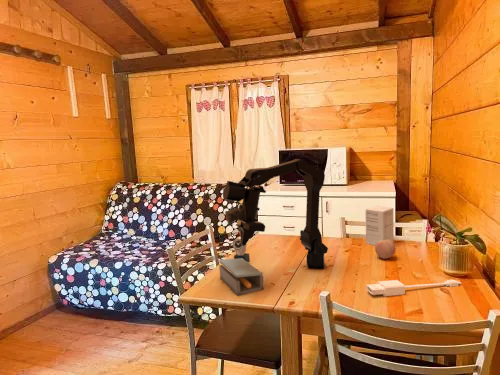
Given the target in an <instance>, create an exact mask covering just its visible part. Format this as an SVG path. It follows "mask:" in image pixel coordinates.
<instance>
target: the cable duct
mask: <svg viewBox="0 0 500 375" xmlns="http://www.w3.org/2000/svg"><path fill="white" fill-rule="evenodd" d="M219 278H220V280H221V281H223V283H224V284H225V283H226V284H225V285H226V286H227V287H228V288H229V287H230V288H231V289H230V288H229V289H230V290H231V291H232V292H233V293H234V294H235V295H236V296H238V297H239V296H242V295H246V294H245V293H247V294H250V292H251V293H253V292H254V291H255V292H258V291H263V290H264V288H265V287H264V275H263V274H262V275H259V276H247V277H235V276H234V275H233V274H232V273H231V272H230V271H229V270H228V269H227V268H226V267H224V266H223V265H222V264H220V265H219ZM241 294H242V295H241Z"/></svg>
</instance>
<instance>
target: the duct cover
mask: <svg viewBox="0 0 500 375" xmlns="http://www.w3.org/2000/svg"><path fill="white" fill-rule="evenodd" d="M218 262H219V264H220V265H223V266H224V267H225V268H226V269H227V270H228V271H229V272H230V273H232V274H233V275H234V276H235V277H247V276H259V275H263V272H261V271H260V270H258V269H257V268H256V267H255V266H253V265H252V264H250V263H249V262H247V261H245V260H244V259H243V258H239V259H234V258H225V259H219V261H218Z"/></svg>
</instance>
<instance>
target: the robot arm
mask: <svg viewBox="0 0 500 375" xmlns="http://www.w3.org/2000/svg"><path fill="white" fill-rule="evenodd" d="M294 172H297V173H298V175H300V176H302V178H303V184H304V186H305V190H306V208H305V209H306V211H305V213H306V214H305V227H304V229H303V230H302V229H301V230H300V232H299V236H300V237H299V241H300V244H301V245H302V246H303V247H304V249H305V250H306V251H307V253H306V266H307V269H316V270H319V269H320V270H325V266H326V261H325V254H327V253H328V250H329V247H328V246H326V245H325V244H324V242H323V240H322V239H323V238H322V233H321V231H320V229H319V220H320V219H319V217H320V192H321V190H322V188H323V186H324V183H325V177H326V175H325V174H326V173H325V172H324V170H322V169H321V168H317V167H315V166H314V165H311V164H309V163H307V162H306V161H305V160H303V159H300V158H299V159H298V158H295V159H293V160H290V161H286V162H283V163H280V164H276V165H272V166H269V167H260V168H259V167H257V168H249V169H248V170H246V172H245V175H244V176H243V177H242V178H241V180H239V181H238V182H234V181H230V180H227V182H226V184H224V185H225V186H224V188H223V190H222V199H223V200H224V201H230V202H238V203H239V202H240V204H239V206H238V208H233V209H229V210H226V211H224V214H225V220H226V221H228V223H233V222H237V223H236V224H235V226H236V227H237V228H238V230H239V234H240V237H241V245H243V246H245V245H246V246H247V244H246V243H248V242H249V240H250V239H251V238H252V236H253V235H254V233H255V232H262V233H265V230H266V225H265V223H263V222H262V221H258V219H259V218H257V212H258V211H260V207H259V203H260V202H259V201H260V195H261V193H263V194H266V193H267V191H266V190H265V188H264V186H263V185H264V184H266V183H268V182H269V181H270V180H271V179H273V178H276V177H279V176H282V175H286V174H290V173H294ZM241 201H242V203H241Z"/></svg>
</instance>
